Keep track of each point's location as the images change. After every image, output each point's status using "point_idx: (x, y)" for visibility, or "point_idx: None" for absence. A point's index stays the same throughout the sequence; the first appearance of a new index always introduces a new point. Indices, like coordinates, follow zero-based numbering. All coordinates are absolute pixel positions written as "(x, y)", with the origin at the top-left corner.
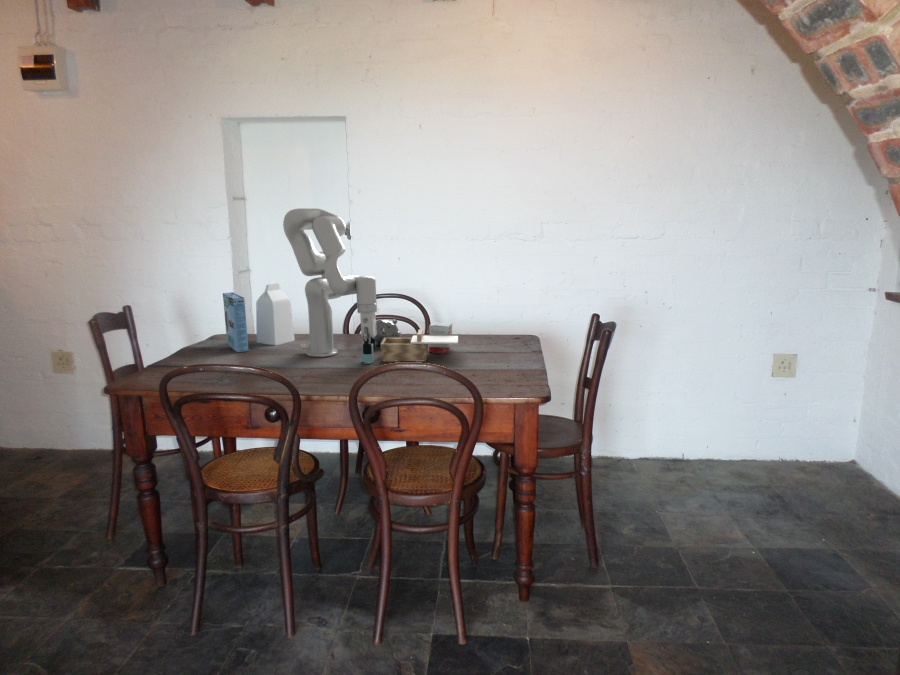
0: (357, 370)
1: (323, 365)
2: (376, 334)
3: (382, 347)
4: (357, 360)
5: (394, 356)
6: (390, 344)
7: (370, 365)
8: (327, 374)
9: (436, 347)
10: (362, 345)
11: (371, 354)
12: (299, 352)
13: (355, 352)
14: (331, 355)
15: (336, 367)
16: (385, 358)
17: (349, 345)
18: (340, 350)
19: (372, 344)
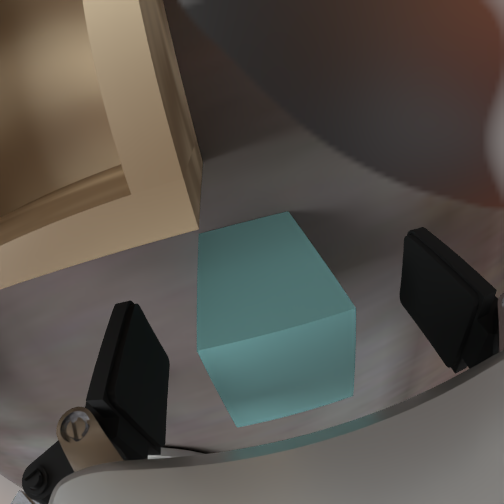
0: (463, 233)
1: (363, 406)
2: (174, 469)
3: (191, 173)
4: None
5: (163, 23)
6: (144, 25)
7: (358, 198)
8: None
9: None
10: (337, 396)
11: (314, 251)
12: None
13: (64, 399)
14: (190, 451)
15: (401, 353)
16: (190, 118)
17: (6, 428)
18: None
19: (258, 338)
